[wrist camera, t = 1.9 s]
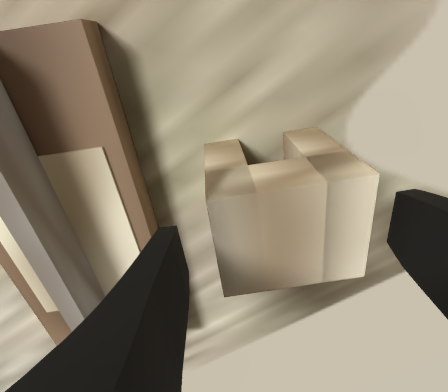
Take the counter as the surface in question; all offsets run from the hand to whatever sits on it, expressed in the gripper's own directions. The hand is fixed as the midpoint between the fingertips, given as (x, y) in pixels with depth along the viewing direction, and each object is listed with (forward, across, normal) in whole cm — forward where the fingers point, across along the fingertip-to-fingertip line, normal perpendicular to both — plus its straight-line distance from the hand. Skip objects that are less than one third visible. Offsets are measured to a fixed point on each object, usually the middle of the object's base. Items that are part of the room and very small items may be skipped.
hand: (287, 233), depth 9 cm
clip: (+4, 0, 0) cm, 5 cm away
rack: (+5, +9, +1) cm, 10 cm away
